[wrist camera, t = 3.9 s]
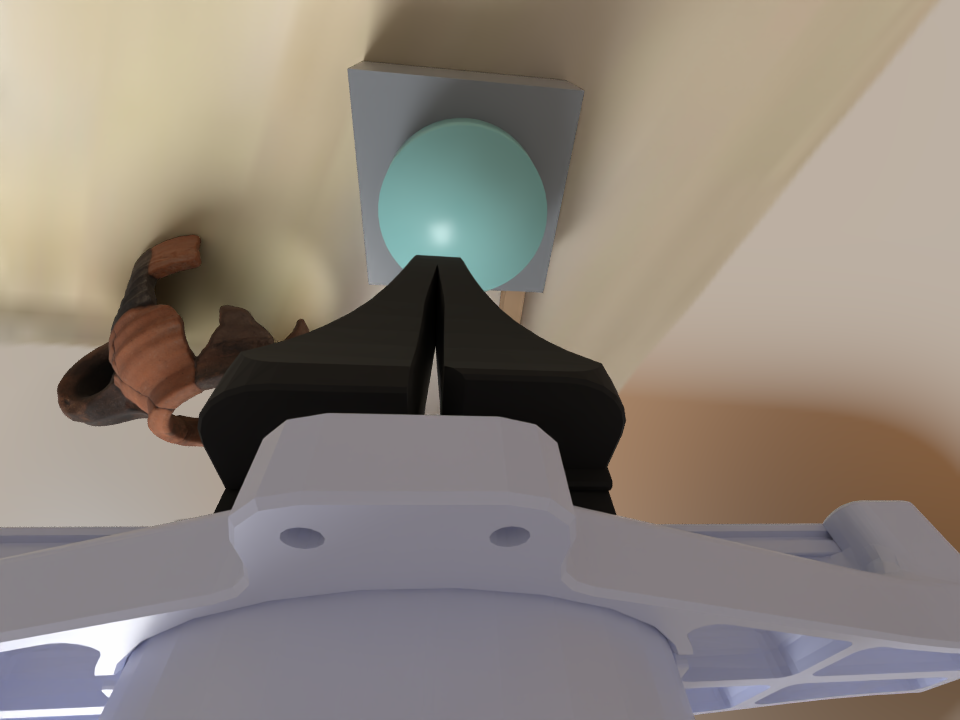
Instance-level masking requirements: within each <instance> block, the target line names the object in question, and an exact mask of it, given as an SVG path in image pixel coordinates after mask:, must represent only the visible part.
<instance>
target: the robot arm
mask: <svg viewBox="0 0 960 720" xmlns="http://www.w3.org/2000/svg"><path fill="white" fill-rule="evenodd" d="M435 346H436V359H437V372H438V385H439V398H440V415H424V414H425V405H426V399H427V393H428V388H429V382H430V376H431V370H432V364H433V358H434V352H435ZM625 422H626V418H625V412H624V406H623V404H622V402H621V400H620V397H619V395H618V393H617V391H616V388H615V386H614V384H613V382H612V380H611V379H610V377H609V375H608V374H607V372H606V370H605V369H604V367H603V365H602V364H601V363H599V362H596V361H593V360H591V359H588V358H585V357H582V356H580V355H577V354H574V353H572V352H569V351H567V350H565V349H563V348H560V347H558V346H556V345H554V344H552V343H550V342H548V341H546V340H544V339H543V338H541V337H539V336H537V335H536V334H534V333H533V332H531V331H529V330H528V329H526V328H525V327H523V326H522V325H520V324H519V323H517V322H516V321H515V320H513V319H512V318H511V317H510V316H509V315H507V314H506V313H505V312H504V311H503V310H501V309H500V308H499V307H498V306H497V305H496V304H495V303H494V302H493V301H492V300H491V299H490V298H489V296H488V295H487V294H486V293H485V292H484V290H483V289H482V288H481V287H480V285H479V284H478V283H477V281H476V280H475V279H474V277H473V276H472V274H471V273H470V271H469V270H468V268H467V266H466V264H465V263H464V261H463V260H462V259H461V258H460V257H445V256H428V255H415V256H414V257H413V258H412V259H411V260H410V261H409V263H408V264H407V265H406V266H405V267H404V269H403V270H402V271H401V272H400V273H399V274H398V275H397V276H396V277H395V278H394V279H393V280H392V281H391V282H390V283H389V284H388V285H387V286H386V287H385V288H384V289H383V290H381V291H380V292H379V293H378V294H377V295H376V296H374V297H373V298H372V299H371V300H369V301H368V302H366V303H365V304H364V305H362V306H360V307H359V308H357V309H356V310H354V311H352V312H351V313H349V314H347V315H345V316H343V317H341V318H339V319H337V320H335V321H333V322H331V323H329V324H327V325H325V326H323V327H321V328H318V329H316V330H313V331H311V332H308V333H305V334H302V335H300V336H297V337H294V338H291V339H288V340H284V341H281V342H277V343H273V344H270V345H266V346H262V347H258V348H254V349H251V350H246V351H241V352H240V353H239V355H238V356H237V357H236V359H235V360H234V361H233V363H232V364H231V365H230V367H229V368H228V369H227V371H226V372H225V374H224V375H223V377H222V379H221V380H220V382H219V383H218V385H217V387H216V388H215V390H214V392H213V393H212V395H211V396H210V398H209V399H208V401H207V403H206V404H205V406H204V407H203V409H202V411H201V412H200V414H199V420H198V427H197V429H198V432H199V435H200V439H201V442H202V444H203V446H204V448H205V450H206V452H207V454H208V456H209V457H210V459H211V461H212V463H213V465H214V467H215V469H216V471H217V473H218V475H219V477H220V478H221V480H222V482H223V484H224V486H225V488H226V489H225V491H224V493H223V495H222V497H221V499H220V501H219V504H218V505H217V507H216V510H215V512H214V514H209V515H204V516H200V517H195V518H190V519H185V520H181V521H176V522H171V523H166V524H162V525H157V526H152V527H0V720H695V717H694V715H696V714H704V713H713V712H721V711H729V710H737V709H746V708H754V707H762V706H770V705H779V704H787V703H796V702H805V701H814V700H824V699H834V698H845V697H856V696H868V695H883V694H899V693H916V692H923V691H926V690H928V689H931V688H934V687H937V686H940V685H943V684H945V683H948V682H951V681H954V680H957V679H960V554H959V553H958V552H957V551H956V550H955V549H954V547H953V546H952V545H951V544H950V543H949V542H948V541H947V540H946V539H945V538H944V537H943V536H942V535H941V534H940V533H939V532H938V531H937V530H936V529H935V527H934V526H933V525H932V524H931V523H930V522H929V521H928V520H927V519H926V518H925V517H924V516H923V515H922V514H921V513H920V512H919V511H918V510H917V508H916V507H915V506H914V505H913V504H912V503H911V502H907V501H855V502H850V503H847V504H845V505H842V506H840V507H839V508H837V509H836V510H834V511H833V512H832V513H831V514H830V515H829V516H828V517H827V518H826V519H825V521H824V523H823V524H661V525H660V524H657V525H656V524H653V523H648V522H644V521H639V520H635V519H630V518H626V517H622V516H617V515H616V513H615V509H614V506H613V503H612V500H611V497H610V494H609V491H608V490H611V488H612V479H611V476H610V473H609V470H608V468H607V466H608V464H609V462H610V459H611V457H612V455H613V453H614V451H615V449H616V447H617V444H618V442H619V440H620V438H621V436H622V433H623V429H624V426H625Z"/></svg>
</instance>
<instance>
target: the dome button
mask: <svg viewBox="0 0 960 720" xmlns="http://www.w3.org/2000/svg"><path fill="white" fill-rule="evenodd" d="M378 217H379V224H380V229H381V233H382V236H383V239H384V241H385V244H386V246H387V248H388V250H389V252H390V253H391V255H392V257H393V258H394V259H395V261H396V262H397V263H398V264H399V265H400V267H401V268H402V269H404V267H405V266H406V265H407V264H408V263H409V261H410V260H411V259H412V258H413V257H414V256H415V255H428V256H445V257H460V258H461V259H462V260H463V261H464V263H465V264H466V266H467V268H468V270H469V271H470V273H471V274H472V276H473V277H474V279H475V280H476V281H477V283H478V284H479V285H480V287H481V288H482V289H483V290H484V291H488V290H491V289H493V288H496V287H498V286H500V285H502V284H504V283H506V282H508V281H509V280H511V279H512V278H514V277H515V276H516V275H517V274H518V273H520V272H521V271H522V270H523V269H524V268H525V267H526V266H527V264H528V263H529V262H530V261H531V259H532V258H533V256H534V255H535V253H536V251H537V250H538V248H539V246H540V243H541V241H542V238H543V236H544V232H545V228H546V221H547V200H546V193H545V190H544V186H543V183H542V180H541V178H540V176H539V174H538V171H537V170H536V168H535V166H534V164H533V162H532V161H531V159H530V157H529V156H528V154H527V152H526V151H525V150H524V148H523V147H522V146H521V145H520V144H519V142H517V141H516V140H515V139H514V138H513V137H512V136H511V135H510V134H508V133H507V132H505V131H504V130H502V129H501V128H499V127H497V126H495V125H493V124H491V123H488V122H484V121H481V120H477V119H471V118H452V119H445V120H442V121H438V122H435V123H432V124H430V125H428V126H426V127H424V128H422V129H421V130H419V131H418V132H416V133H415V134H413V135H412V136H411V137H410V138H409V139H408V140H407V141H405V143H404V144H403V145H402V146H401V147H400V149H399V150H398V151H397V153H396V155H395V156H394V158H393V159H392V162H391V164H390V166H389V168H388V171H387V173H386V176H385V178H384V180H383V183H382V187H381V190H380V195H379V202H378Z"/></svg>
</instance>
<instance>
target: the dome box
mask: <svg viewBox="0 0 960 720" xmlns="http://www.w3.org/2000/svg"><path fill="white" fill-rule="evenodd" d="M348 79H349V89H350V99H351V109H352V119H353V129H354V140H355V150H356V160H357V170H358V180H359V190H360V201H361V211H362V221H363V231H364V241H365V251H366V262H367V272H368V282H369V284H370V285H388V284H389V283H390V282H391V281H392V280H393V279H394V278H395V277H396V276H397V275H398V274H399V273H400V272H401V271H402V270H403V269H402V268H401V267H400V265H399V264H398V263H397V262H396V261H395V259H394V258H393V257H392V255H391V253H390V252H389V250H388V248H387V246H386V244H385V241H384V239H383V236H382V233H381V229H380V224H379V217H378V202H379V195H380V190H381V187H382V183H383V180H384V178H385V176H386V173H387V171H388V168H389V166H390V164H391V162H392V159H393V158H394V156H395V155H396V153H397V151H398V150H399V149H400V147H401V146H402V145H403V144H404V143H405V141H407V140H408V139H409V138H410V137H411V136H412V135H413V134H415V133H416V132H418V131H419V130H421V129H422V128H424V127H426V126H428V125H430V124H432V123H435V122H438V121H442V120H445V119H452V118H471V119H477V120H481V121H484V122H488V123H491V124H493V125H495V126H497V127H499V128H501V129H502V130H504V131H505V132H507V133H508V134H510V135H511V136H512V137H513V138H514V139H515V140H516V141H517V142H519V144H520V145H521V146H522V147H523V148H524V150H525V151H526V152H527V154H528V156H529V157H530V159H531V161H532V162H533V164H534V166H535V168H536V170H537V171H538V174H539V176H540V178H541V180H542V183H543V186H544V190H545V193H546V200H547V221H546V228H545V232H544V236H543V238H542V241H541V243H540V246H539V248H538V250H537V251H536V253H535V255H534V256H533V258H532V259H531V261H530V262H529V263H528V264H527V266H526V267H525V268H524V269H523V270H522V271H521V272H520V273H518V274H517V275H516V276H515V277H514V278H512V279H511V280H509V281H508V282H506V283H504V284H502V285H500V286H498V287H496V288H493V289H491V290H498V291H520V292H541V293H543V291H544V286H545V281H546V276H547V271H548V266H549V262H550V257H551V252H552V247H553V242H554V237H555V232H556V227H557V222H558V218H559V213H560V208H561V203H562V198H563V193H564V188H565V183H566V179H567V174H568V169H569V164H570V159H571V154H572V149H573V144H574V140H575V135H576V130H577V125H578V120H579V115H580V110H581V105H582V100H583V96H584V90H582V89H581V88H579V87H577V86H575V85H573V84H572V83H570V82H568V81H566V80H557V79H546V78H536V77H525V76H515V75H504V74H494V73H483V72H473V71H462V70H452V69H441V68H431V67H420V66H410V65H399V64H389V63H378V62H368V61H362V62H360V63H358V64H356V65H354V66H352V67H350V68H348Z"/></svg>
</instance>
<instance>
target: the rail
mask: <svg viewBox="0 0 960 720" xmlns="http://www.w3.org/2000/svg"><path fill="white" fill-rule="evenodd" d="M524 297H525V292H520V291H501V297H500V305H499V308H500V309H501V310H503V311H504V312H505V313H506V314H507V315H509V316H510V317H511V318H512V319H513V320H515V321H516V322H517V323H519V324H520V320H521V315H522V309H523V303H524Z"/></svg>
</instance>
